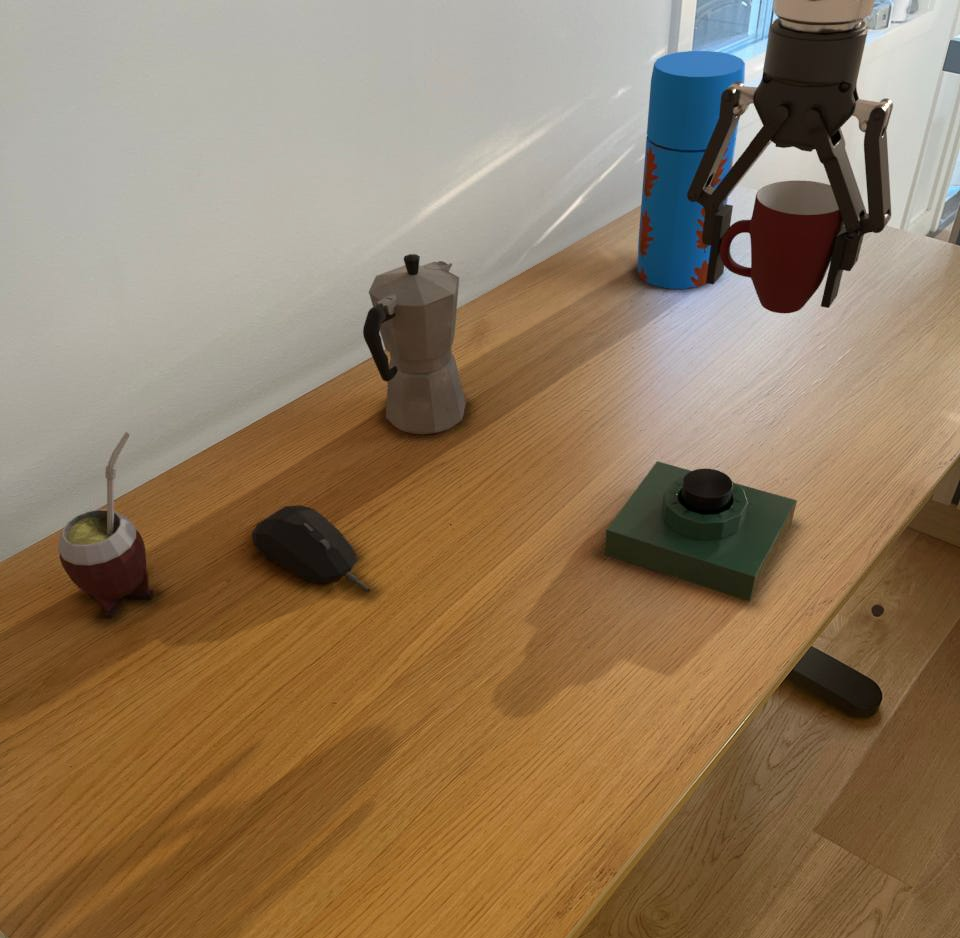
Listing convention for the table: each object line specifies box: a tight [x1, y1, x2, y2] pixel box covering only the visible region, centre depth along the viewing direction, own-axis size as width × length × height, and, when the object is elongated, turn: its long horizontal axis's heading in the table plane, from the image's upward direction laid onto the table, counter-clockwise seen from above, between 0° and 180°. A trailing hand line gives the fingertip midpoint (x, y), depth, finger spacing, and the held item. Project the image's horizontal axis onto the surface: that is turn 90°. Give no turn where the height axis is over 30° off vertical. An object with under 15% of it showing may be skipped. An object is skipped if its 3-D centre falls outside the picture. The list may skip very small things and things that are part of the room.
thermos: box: [637, 50, 746, 290], centre depth 119 cm, size 11×11×25 cm
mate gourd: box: [57, 431, 155, 619], centre depth 82 cm, size 8×8×15 cm
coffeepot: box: [362, 253, 467, 435], centre depth 99 cm, size 15×9×18 cm, turn 150°
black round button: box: [680, 468, 734, 515], centre depth 85 cm, size 4×4×2 cm
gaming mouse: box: [251, 504, 371, 593], centre depth 88 cm, size 6×15×4 cm, turn 48°
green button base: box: [604, 460, 798, 602], centre depth 87 cm, size 14×12×5 cm
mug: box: [720, 180, 844, 314], centre depth 88 cm, size 11×8×10 cm
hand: (770, 289), depth 90 cm, fingers closed on mug, 10 cm apart
